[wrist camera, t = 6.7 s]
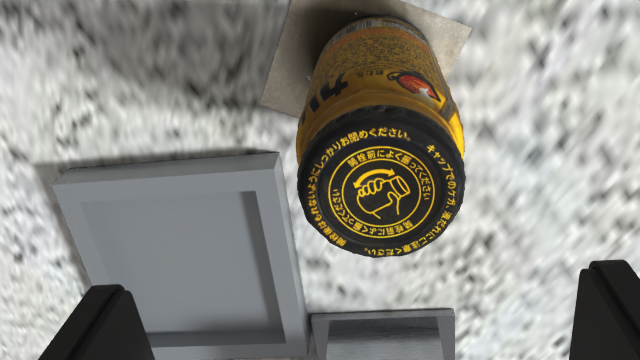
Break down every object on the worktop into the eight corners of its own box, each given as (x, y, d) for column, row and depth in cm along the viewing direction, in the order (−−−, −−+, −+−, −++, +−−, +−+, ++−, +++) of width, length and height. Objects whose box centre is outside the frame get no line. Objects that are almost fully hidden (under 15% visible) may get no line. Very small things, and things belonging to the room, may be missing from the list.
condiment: (409, 155, 29) (433, 307, 18) (259, 102, 28) (194, 229, 17) (471, 26, 25) (546, 121, 15) (303, -38, 24) (254, 13, 14)
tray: (69, 168, 31) (51, 185, 29) (279, 152, 29) (274, 168, 27) (134, 339, 37) (123, 361, 35) (310, 333, 35) (307, 356, 33)
